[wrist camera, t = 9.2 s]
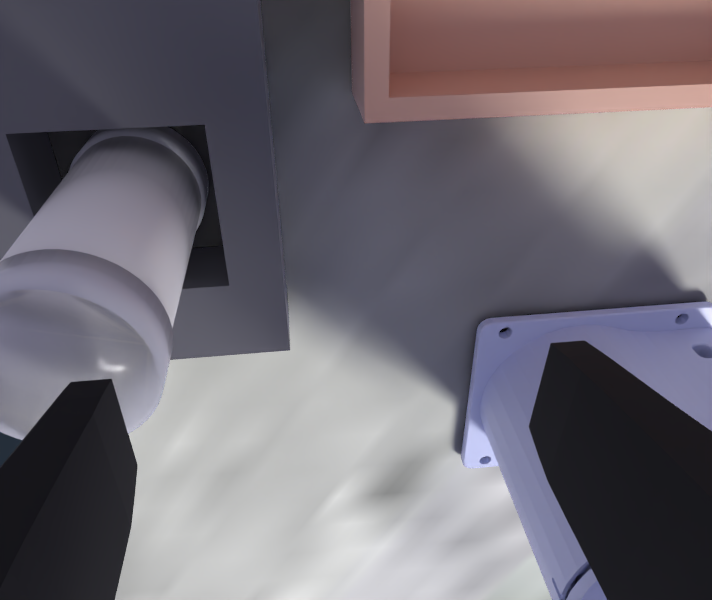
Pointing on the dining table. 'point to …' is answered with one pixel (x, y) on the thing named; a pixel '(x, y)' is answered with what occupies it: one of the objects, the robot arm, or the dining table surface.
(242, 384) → the dining table surface
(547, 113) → the parts tray
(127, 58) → the fuse holder
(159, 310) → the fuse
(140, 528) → the dining table surface
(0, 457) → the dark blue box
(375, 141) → the dining table surface
